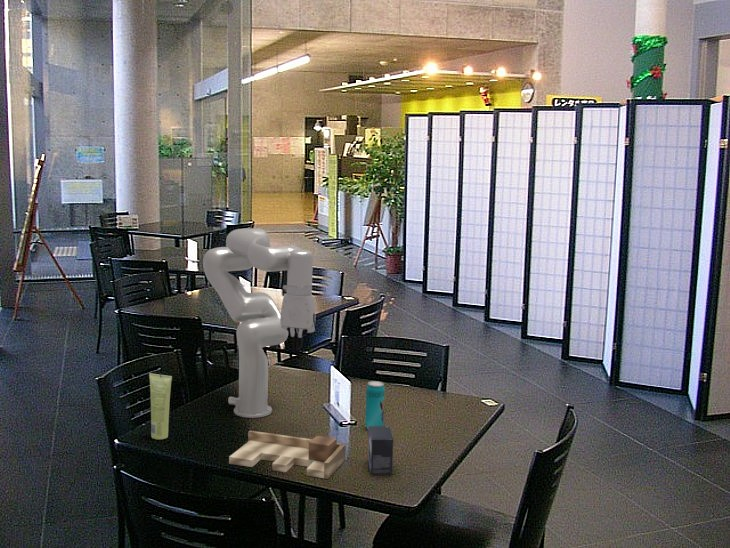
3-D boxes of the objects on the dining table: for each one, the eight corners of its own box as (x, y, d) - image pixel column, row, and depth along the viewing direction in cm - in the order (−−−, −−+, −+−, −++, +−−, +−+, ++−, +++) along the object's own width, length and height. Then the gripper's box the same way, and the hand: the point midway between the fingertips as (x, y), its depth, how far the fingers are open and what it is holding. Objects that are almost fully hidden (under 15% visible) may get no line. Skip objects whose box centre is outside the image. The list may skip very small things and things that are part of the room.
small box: (366, 460, 233) (367, 425, 232) (388, 460, 234) (390, 425, 232) (369, 475, 223) (371, 438, 221) (393, 475, 223) (394, 438, 222)
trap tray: (227, 463, 227) (227, 447, 226) (249, 444, 242) (249, 430, 241) (328, 479, 219) (328, 463, 218) (345, 459, 233) (345, 444, 233)
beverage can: (381, 432, 256) (383, 386, 254) (363, 430, 257) (365, 385, 255) (384, 426, 262) (386, 381, 260) (367, 424, 263) (368, 380, 261)
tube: (168, 433, 249) (168, 371, 246) (171, 438, 244) (172, 375, 241) (149, 435, 246) (149, 373, 243) (152, 441, 242) (152, 377, 239)
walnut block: (308, 459, 227) (308, 442, 226) (316, 452, 232) (317, 435, 232) (328, 462, 225) (329, 445, 224) (336, 455, 231) (336, 438, 230)
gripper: (271, 290, 245) (269, 348, 248) (318, 295, 241) (315, 355, 244) (281, 286, 252) (279, 343, 255) (326, 290, 248) (324, 349, 251)
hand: (297, 348), depth 250 cm, fingers closed
